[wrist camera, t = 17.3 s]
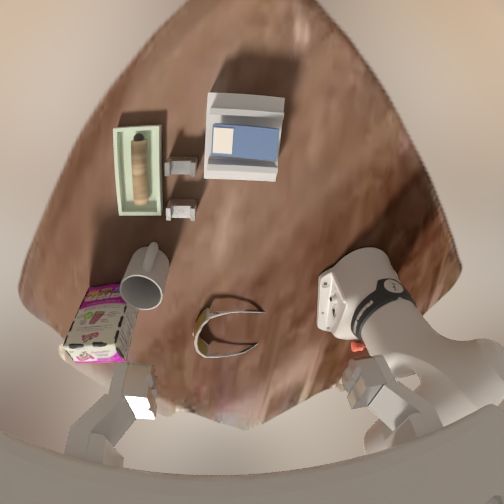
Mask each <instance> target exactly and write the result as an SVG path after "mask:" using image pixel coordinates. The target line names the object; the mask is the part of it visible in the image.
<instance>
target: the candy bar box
mask: <svg viewBox="0 0 504 504" xmlns="http://www.w3.org/2000/svg"><path fill="white" fill-rule="evenodd" d="M120 284H121V283H115V284H109V285H103V286H96V287H89V288H88V290H87V292H86V295H85V297H84V299H83V301H82V303H81V305H80V307H79V309H78V312H77V314H76V316H75V318H74V321H73V323H72V325H71V328H70V330H69V332H68V335H67V337H66V339H65V342H64V344H63V348H64V349H65V350H66V352H67V353H68V354H69V356H70V357H71V358H72V360H73V361H74V362H75V363H109V362H118V361H119V362H126V360H127V356H128V351H129V347H130V342H131V338H132V334H133V329H134V326H135V322H136V318H137V314H138V310H139V309H136V308H134V307H132V306H130V305H129V304H127V303H126V302H125V301H124V300H123V298H122V296H121V294H120Z"/></svg>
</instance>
